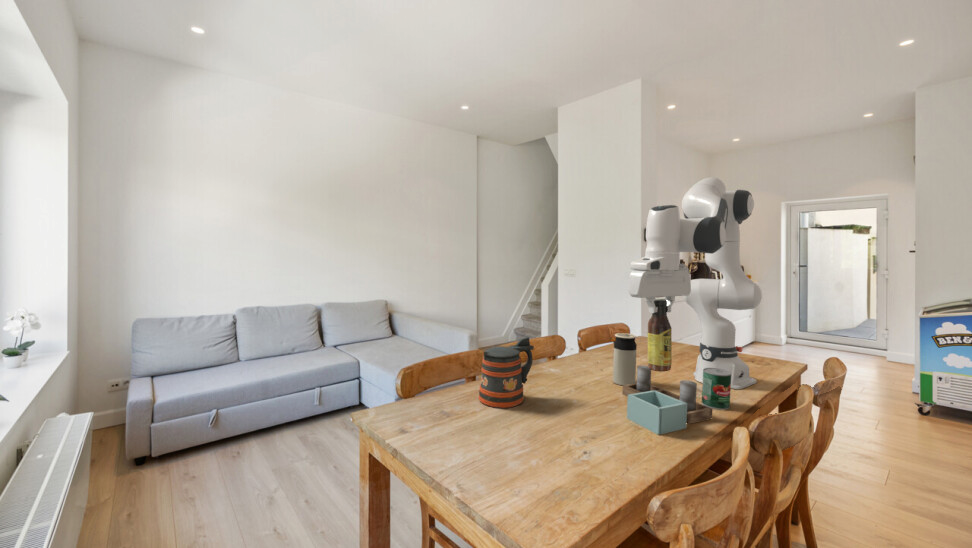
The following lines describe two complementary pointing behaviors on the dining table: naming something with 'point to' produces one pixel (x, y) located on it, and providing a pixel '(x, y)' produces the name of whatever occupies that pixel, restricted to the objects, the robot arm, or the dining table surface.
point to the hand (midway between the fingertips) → (659, 312)
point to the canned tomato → (716, 388)
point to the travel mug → (624, 359)
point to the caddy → (657, 411)
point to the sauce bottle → (659, 339)
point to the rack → (671, 394)
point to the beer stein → (504, 375)
